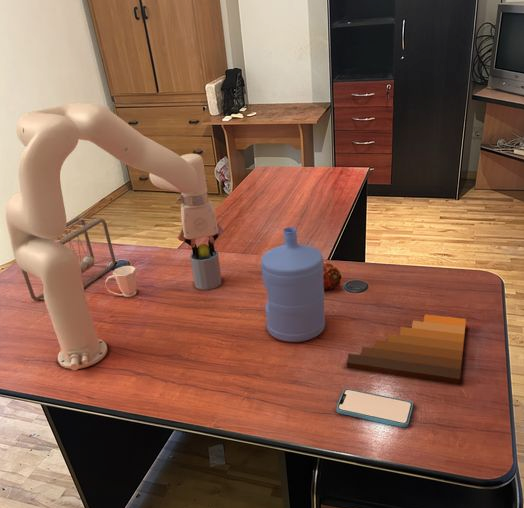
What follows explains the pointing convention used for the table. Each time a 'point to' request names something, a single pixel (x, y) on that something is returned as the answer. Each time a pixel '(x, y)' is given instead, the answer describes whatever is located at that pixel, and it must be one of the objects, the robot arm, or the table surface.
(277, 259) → the water jug
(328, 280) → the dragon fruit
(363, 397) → the smartphone
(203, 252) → the plum
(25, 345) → the table surface
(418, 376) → the pan flute
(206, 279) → the tumbler
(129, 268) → the cup
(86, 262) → the newton's cradle
